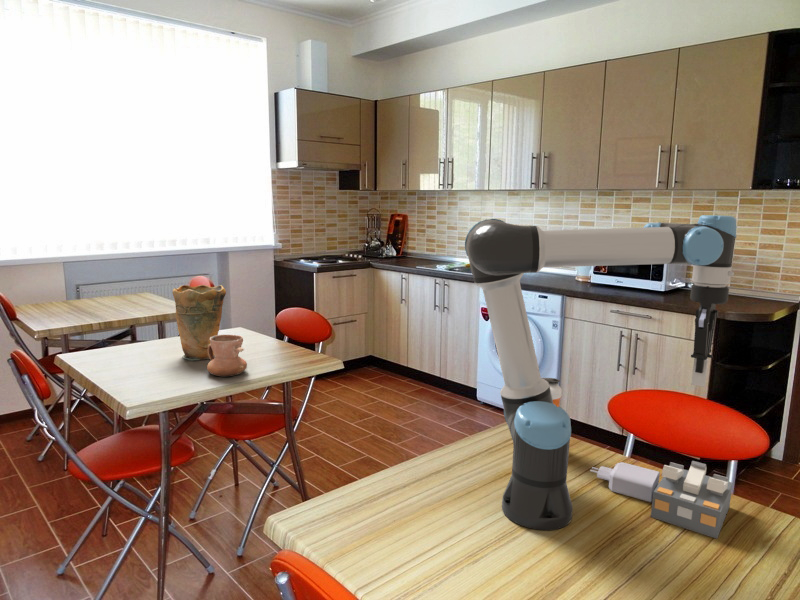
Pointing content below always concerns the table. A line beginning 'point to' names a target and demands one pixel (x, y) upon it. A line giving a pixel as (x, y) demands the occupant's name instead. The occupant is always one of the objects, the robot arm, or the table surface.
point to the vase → (198, 317)
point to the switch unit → (691, 506)
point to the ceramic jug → (226, 355)
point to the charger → (630, 480)
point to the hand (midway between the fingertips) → (698, 385)
